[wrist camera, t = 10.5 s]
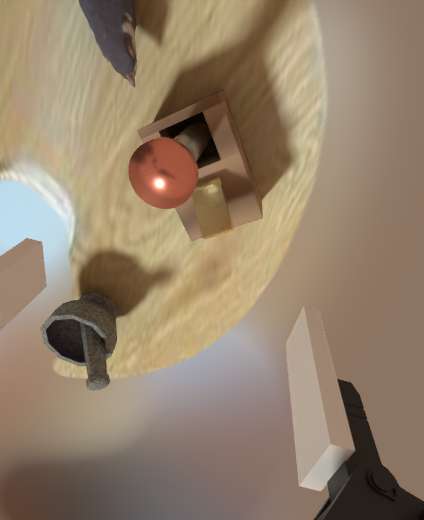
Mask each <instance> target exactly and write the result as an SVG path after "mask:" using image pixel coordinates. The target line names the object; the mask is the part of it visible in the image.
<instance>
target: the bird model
mask: <svg viewBox="0 0 424 520" xmlns="http://www.w3.org/2000/svg"><path fill="white" fill-rule="evenodd" d="M79 3H80V6H81V8H82V10H83V12H84V14H85V16H86V18H87V20H88V22H89V26H90V29H91V32H92V34H93V36H94V38H95V40H96V42H97V44H98V45H99V47H100V49H101V51H102V53H103V55H104V57H105V58H106V59H107V61H108V63H109V64H110V65H112V66H113V67H114V69H115V70H116V71H117V72H118V73H120V74H121V75H122V76H123V77H124V79H127V80H128V81H129V82H130V84H131V85H132V86H133V87H135V80H134V78H135V75H136V69H137V65H136V63H137V58H136V45H135V29H136V25H137V24H136V19H135V11H134V2H133V0H79Z"/></svg>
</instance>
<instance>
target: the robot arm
mask: <svg viewBox="0 0 424 520" xmlns="http://www.w3.org/2000/svg"><path fill="white" fill-rule="evenodd" d="M45 287H46V277H45V267H44V257H43V247H42V242H41V241H36V240H32V239H28V238H26V239H25V240H24V241H22V242H21V243H19V244H18V245H16V246H15V247H13V248H12V249H10V250H9V251H7V252H6V253H5V254H3V255H2V256H0V331H1V330H2V329H3V328H4V327H5V326H6V325H7V324H8V323H9V322H10V321H11V320H12V319H13V318H14V317H15V316H17V315H18V314H19V313H20V312H21V310H22V309H24V308H25V307H26V306H27V305H28V304H29V303H30V302H31V301H32V300H33V299H34V298H35V297H36V296H37V295H38V294H39V293H40V292H41V291H42V290H43V289H44V288H45ZM285 346H286V355H287V366H288V376H289V387H290V396H291V407H292V418H293V428H294V438H295V448H296V459H297V469H298V479H299V486H302V487H306V488H310V489H314V490H317V491H321V490H322V489H323V488H324V487H325V486H326V484H328V490H329V496H330V497H329V498H328V499H327V500H326V501H325V502H324V504H323V505H322V506H321V507H320V508H319V512H318V514H317V516H316V517H315V518H314V520H424V501H422V500H420V499H419V498H417V497H415V496H414V495H412V494H410V493H409V492H407V491H405V490H404V489H402V488H401V487H400V486H399V484H398V483H397V481H396V479H395V477H394V476H393V475H392V474H391V473H390V471H389V470H388V469H387V468H386V467H384V466H383V465H382V463H381V461H380V458H379V455H378V451H377V448H376V445H375V442H374V439H373V436H372V432H371V429H370V426H369V423H368V421H367V417H366V414H365V411H364V410H363V404H362V401H361V398H360V395H359V393H358V392H357V390H356V389H355V387H354V386H353V385H352V383H350V382H347V381H343V380H339V379H337V377H336V374H335V369H334V366H333V362H332V358H331V354H330V350H329V346H328V342H327V338H326V335H325V331H324V327H323V323H322V319H321V315H320V311H319V310H318V309H315V308H310V307H306V306H303V308H302V311H301V313H300V315H299V317H298V319H297V321H296V323H295V326H294V328H293V330H292V332H291V334H290V336H289V339H288V341H287V343H286V345H285Z"/></svg>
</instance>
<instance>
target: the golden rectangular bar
mask: <svg viewBox="0 0 424 520" xmlns="http://www.w3.org/2000/svg"><path fill="white" fill-rule="evenodd" d="M191 196H192V199H193V203H194V207H195V211H196V215H197V219H198V223H199V227H200V231H201V235H202V238H203V239H207V238H210V237H213V236H217V235H220V234H223V233H226V232H229V231H232V230H234V226H233V223H232V219H231V215H230V211H229V208H228V204H227V200H226V196H225V193H224V189H223V181H222V178H221V176H218V177H215V178H213V179H210V180H208V181H205V182H202V183H200V184H197V185H196V187H195V189H194V191H193V193H192V195H191Z"/></svg>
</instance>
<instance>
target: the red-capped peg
mask: <svg viewBox="0 0 424 520" xmlns="http://www.w3.org/2000/svg"><path fill="white" fill-rule="evenodd" d="M209 141H210V130H209V128H208V127H207V126H206V125H205V124H204V123H201V122H194V123H192V124H190V125H189V126H188V127H187V128H186V129H184V130H183V131H182V132H181V133H180V134H178V135H177V136H176V137H175V138H174V139H171V138H166V137H159V138H154V139H151V140H149V141H147V142H146V143H144V144H143V145H141V146H140V147H139V148H138V149H137V150H136V151H135V152H134V153H133V155H132V157H131V159H130V163H129V178H130V182H131V185H132V187H133V189H134V190H135V192H136V193H137V195H138V196H139V197H140V198H141V199H142V200H144V201H145V202H146V203H148V204H150V205H152V206H154V207H157V208H162V209H170V208H175V207H178V206H180V205H182V204H184V203H185V202H186V201H187V200H188V199H189V198H190V197H191V195H192V193H193V191H194V189H195V187H196V185H197V182H198V166H197V163H196V161H197V160H198V158H199V157H200V155H201V153H202V152H203V150H204V149H205V147H206V146H207V144H208V143H209Z"/></svg>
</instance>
